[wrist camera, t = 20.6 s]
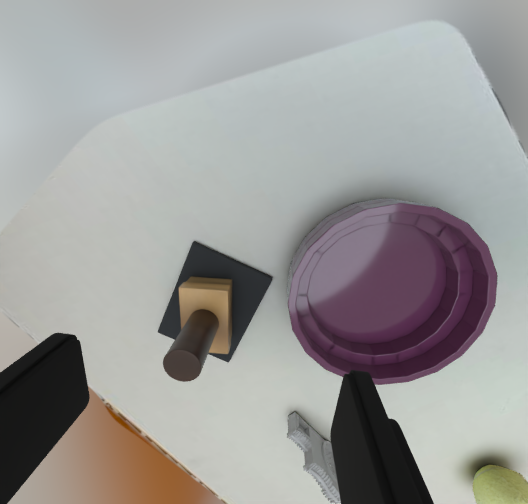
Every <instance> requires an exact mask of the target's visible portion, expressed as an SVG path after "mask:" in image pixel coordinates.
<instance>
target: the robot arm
mask: <svg viewBox="0 0 528 504" xmlns="http://www.w3.org/2000/svg"><path fill="white" fill-rule="evenodd" d="M88 402H89V391H88V385H87V379H86V373H85V368H84V362H83V356H82V350H81V345H80V341H79V340H77V337H76V336H75V335H71V334H63V333H55V334H53V335H51V336H50V337H48V338H47V339H46V340H44V341H43V342H41V343H40V344H39V345H37V346H36V347H35V348H34V349H32V350H31V351H29V352H28V353H26V354H25V355H24V356H22V357H21V358H20V359H18V360H17V361H15V362H14V363H13V364H11V365H10V366H9V367H7V368H6V369H5V370H3V371H2V372H0V504H7V503H8V502H9V501H10V499H11V498H12V497H13V496H14V495H15V493H16V492H17V491H18V490H19V488H20V487H21V486H22V485H23V484H24V482H25V481H26V480H27V479H28V478H29V476H30V475H31V474H32V473H33V471H34V470H35V469H36V468H37V467H38V465H39V464H40V463H41V462H42V460H43V459H44V458H45V457H46V456H47V454H48V453H49V452H50V451H51V449H52V448H53V447H54V446H55V444H56V443H57V442H58V441H59V440H60V438H61V437H62V436H63V435H64V434H65V432H66V431H67V430H68V429H69V427H70V426H71V425H72V424H73V423H74V421H75V420H76V419H77V418H78V416H79V415H80V414H81V413H82V412H83V410H84V409H85V408H86V406H87V404H88ZM331 446H332V452H333V458H334V464H335V470H336V476H337V482H338V488H339V494H340V500H341V504H434V503H433V501H432V498H431V496H430V494H429V491H428V489H427V487H426V485H425V482H424V480H423V478H422V475H421V473H420V471H419V469H418V466H417V464H416V462H415V460H414V457H413V455H412V453H411V450H410V448H409V446H408V444H407V441H406V439H405V437H404V434H403V432H402V430H401V428H400V426H399V424H398V423H397V422H396V421H395V420H393V419H388V417H387V414H386V412H385V409H384V407H383V404H382V402H381V399H380V397H379V394H378V392H377V390H376V387H375V385H374V382H373V380H372V377H371V375H370V373H369V372H365V371H357V370H351V371H350V372H349V374H344V377H343V381H342V385H341V389H340V394H339V398H338V402H337V406H336V410H335V415H334V419H333V423H332V427H331Z"/></svg>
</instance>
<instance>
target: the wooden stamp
mask: <svg viewBox="0 0 528 504" xmlns="http://www.w3.org/2000/svg"><path fill="white" fill-rule="evenodd" d="M179 302H180V317H181V331H180V333H179V335H178V336H177V338H176V339H175V341H174V343H173V344H172V346H171V347H170V349H169V351H168V352H167V354H166V355H165V357H164V360H163V366H164V369H165V371H166V372H167V374H168V375H169V376H171V377H172V378H174V379H176V380H178V381H191V380H194V379H195V378H197V377H198V376H199V374H200V373H201V370H202V368H203V365H204V363H205V360H206V358H207V355H208V353H220V354H228V353H229V350H230V346H231V337H232V279H219V278H204V277H190V278H189V279H188V280H187V281H186V282H183V283H182V284H181V286H180V287H179Z"/></svg>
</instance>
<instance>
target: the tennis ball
mask: <svg viewBox="0 0 528 504" xmlns="http://www.w3.org/2000/svg"><path fill="white" fill-rule="evenodd" d="M473 492H474V496H475V500H476V503H477V504H528V482H527V481H526V480H525V479H524V477H523V476H522V475H520V473H519V474H518V473H517V472H516V471H512V470H510V469H506V468H505V467H502V466H497V465H487V466H484V467H482V468H481V469H480V470H478V471H477V473H476V474H475V477H474V481H473Z"/></svg>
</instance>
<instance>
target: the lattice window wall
mask: <svg viewBox="0 0 528 504" xmlns="http://www.w3.org/2000/svg"><path fill="white" fill-rule="evenodd" d="M287 438H289V439H291V440H293V442H295V444H296V443H297V446H299V448H301V450H303V452H304V455H305V465H304V466H303V468H304V470H306V471H308V473H310V474H312V476H314V479H316V482H318V485H320V488H322V492H324V493H323V495H325V497H326V498H328V501H329V500H330V503H335V504H336V503H341V500H340V494H339V488H338V482H337V476H336V470H335V464H334V458H333V452H332V446H331V443H330V442H329V441H325V440H324V439H323V438H322V437H321V436H320V435H319V434H318V433H317V432H316V431H314V430H313V429H312V428H311V427H310V426H309V425H308V424H307V423H306V422H305V421H304V420H303V419H302V418H301V417H300V416H299V415H298V414H297V413H296V412H294V413H292V414H291V415H289V416H288V433H287Z"/></svg>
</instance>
